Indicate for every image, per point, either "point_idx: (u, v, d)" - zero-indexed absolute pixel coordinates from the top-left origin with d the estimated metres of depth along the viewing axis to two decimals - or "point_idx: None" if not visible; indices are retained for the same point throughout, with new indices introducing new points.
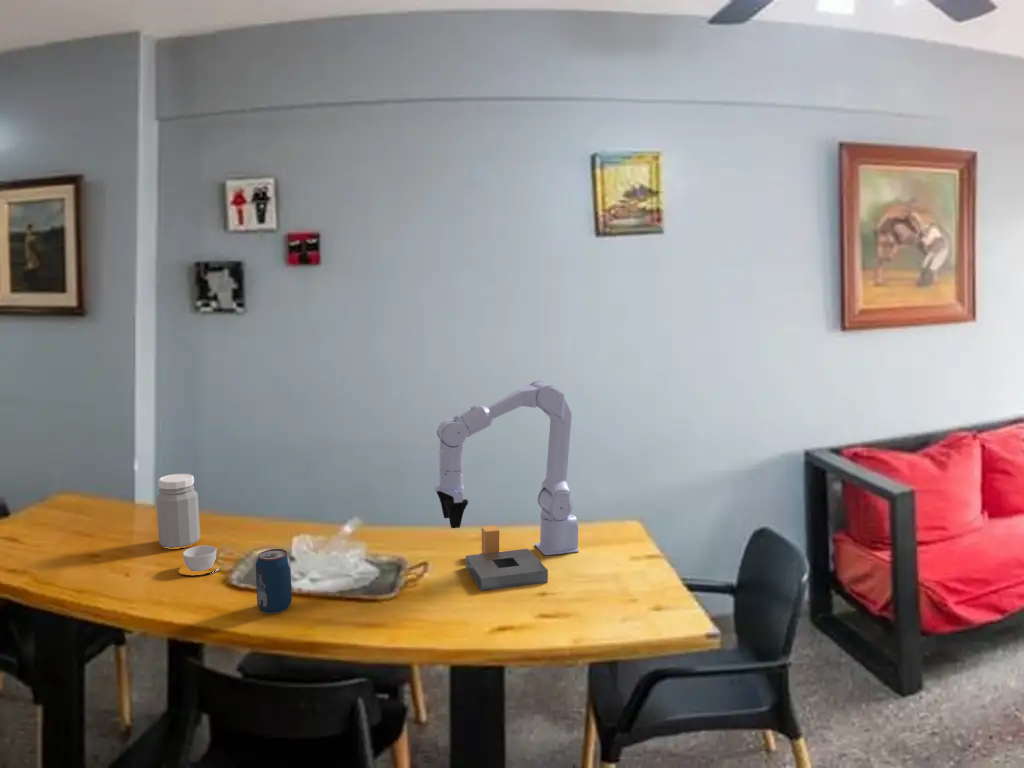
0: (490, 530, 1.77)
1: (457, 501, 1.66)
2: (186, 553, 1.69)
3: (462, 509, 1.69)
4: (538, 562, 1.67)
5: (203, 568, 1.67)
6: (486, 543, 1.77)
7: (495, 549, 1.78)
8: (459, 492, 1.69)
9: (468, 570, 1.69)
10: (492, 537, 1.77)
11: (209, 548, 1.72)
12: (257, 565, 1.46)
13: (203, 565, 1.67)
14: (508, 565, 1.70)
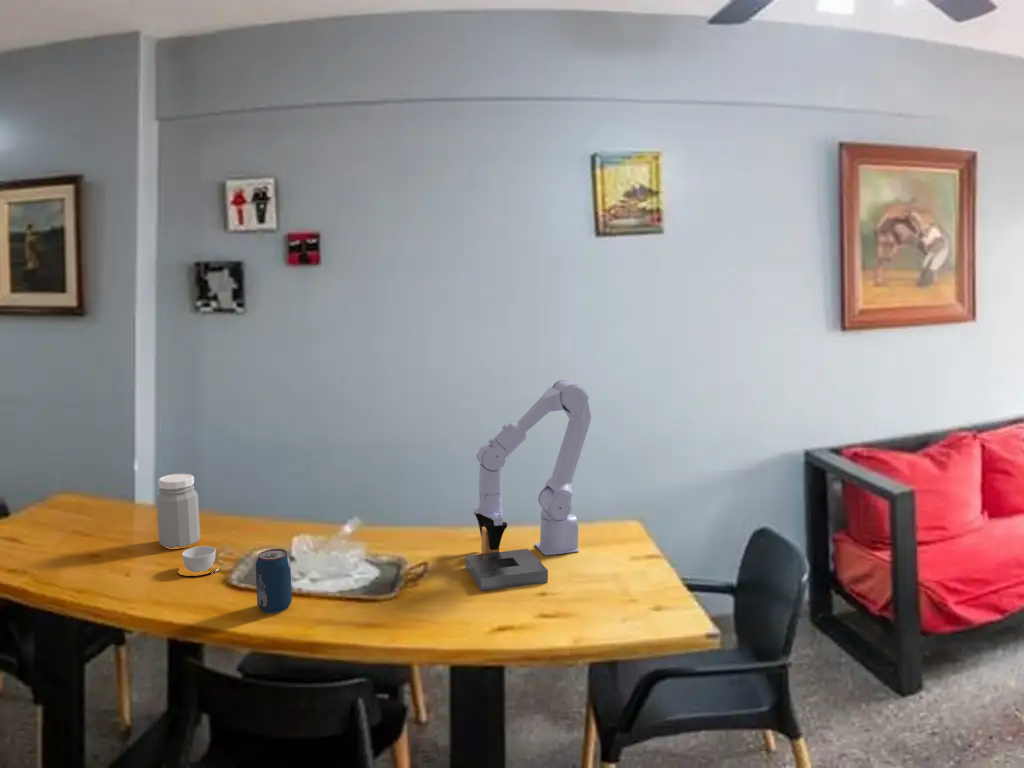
0: None
1: (497, 524, 1.71)
2: (185, 553, 1.69)
3: (501, 531, 1.74)
4: (538, 562, 1.67)
5: (202, 569, 1.67)
6: (486, 543, 1.77)
7: None
8: (499, 515, 1.74)
9: (468, 570, 1.69)
10: None
11: (208, 548, 1.72)
12: (257, 565, 1.46)
13: (202, 566, 1.66)
14: (508, 565, 1.70)
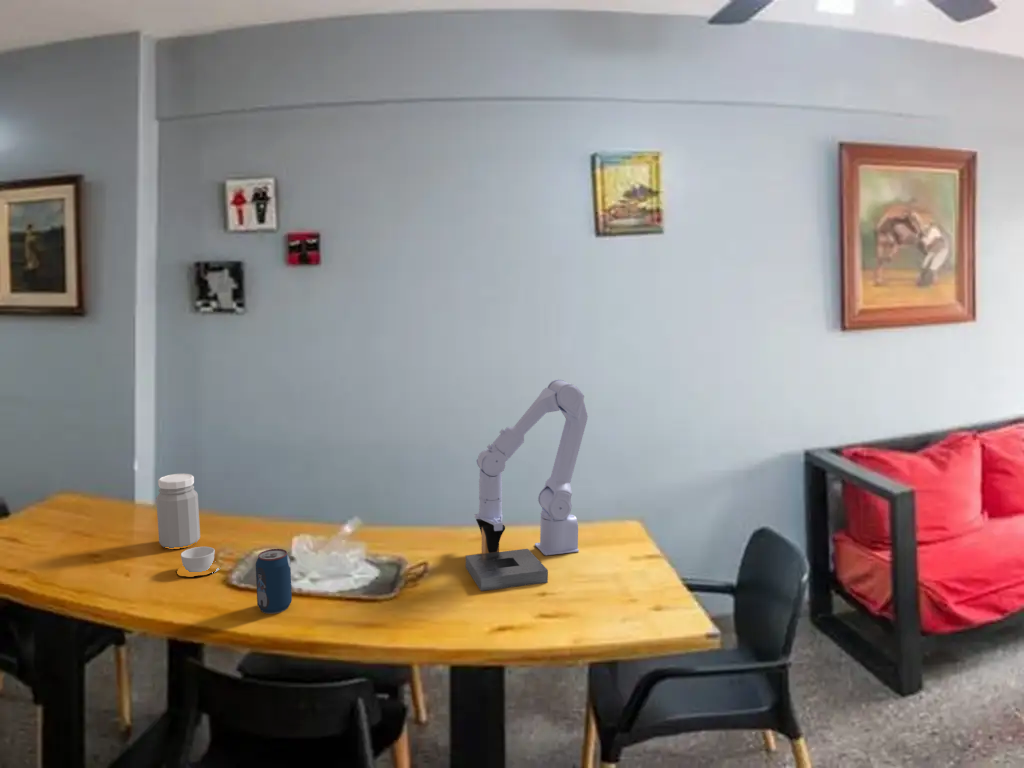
0: None
1: (497, 529, 1.71)
2: (184, 554, 1.68)
3: (499, 534, 1.76)
4: (538, 562, 1.67)
5: (201, 569, 1.66)
6: (486, 543, 1.77)
7: None
8: (499, 520, 1.74)
9: (468, 570, 1.69)
10: None
11: (207, 549, 1.71)
12: (257, 565, 1.46)
13: (201, 566, 1.66)
14: (508, 565, 1.70)
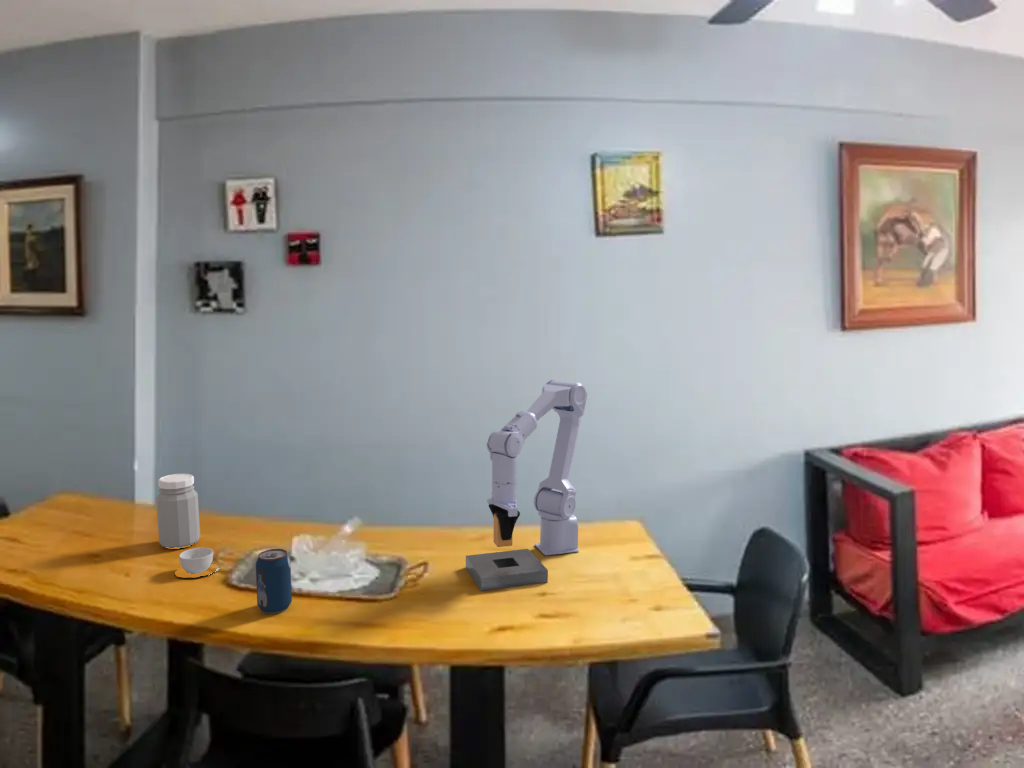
0: None
1: (512, 515, 1.60)
2: (182, 555, 1.68)
3: (514, 521, 1.64)
4: (538, 562, 1.67)
5: (199, 570, 1.66)
6: (499, 531, 1.65)
7: None
8: (513, 505, 1.62)
9: (468, 570, 1.69)
10: None
11: (206, 550, 1.71)
12: (257, 565, 1.46)
13: (199, 567, 1.65)
14: (508, 565, 1.70)
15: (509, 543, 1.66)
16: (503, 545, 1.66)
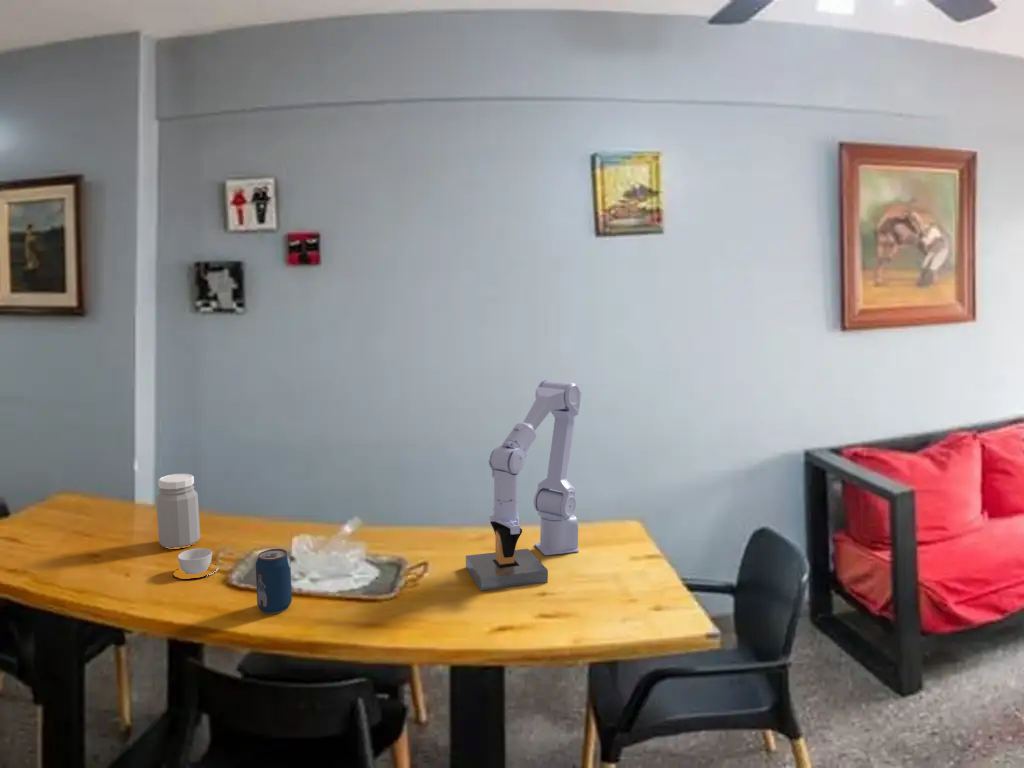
0: None
1: (514, 533, 1.59)
2: (181, 556, 1.67)
3: (516, 538, 1.63)
4: (538, 562, 1.67)
5: (198, 571, 1.65)
6: (501, 548, 1.64)
7: None
8: (515, 523, 1.61)
9: (468, 570, 1.69)
10: None
11: (204, 551, 1.70)
12: (257, 565, 1.46)
13: (198, 568, 1.65)
14: (508, 565, 1.70)
15: (511, 560, 1.65)
16: (505, 562, 1.65)
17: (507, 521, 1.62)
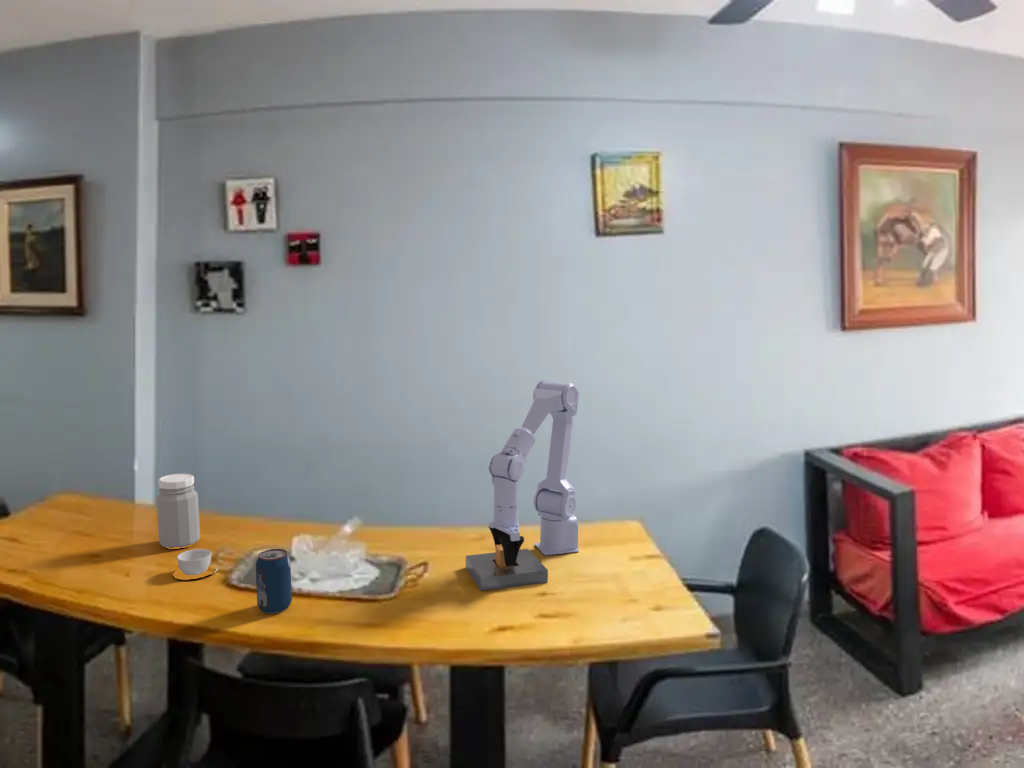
0: None
1: (514, 539, 1.59)
2: (180, 557, 1.67)
3: (518, 547, 1.62)
4: (538, 562, 1.67)
5: (197, 572, 1.65)
6: (501, 563, 1.65)
7: None
8: (515, 529, 1.61)
9: (468, 570, 1.69)
10: None
11: (204, 552, 1.70)
12: (257, 565, 1.46)
13: (197, 569, 1.64)
14: None
15: None
16: None
17: (507, 528, 1.63)
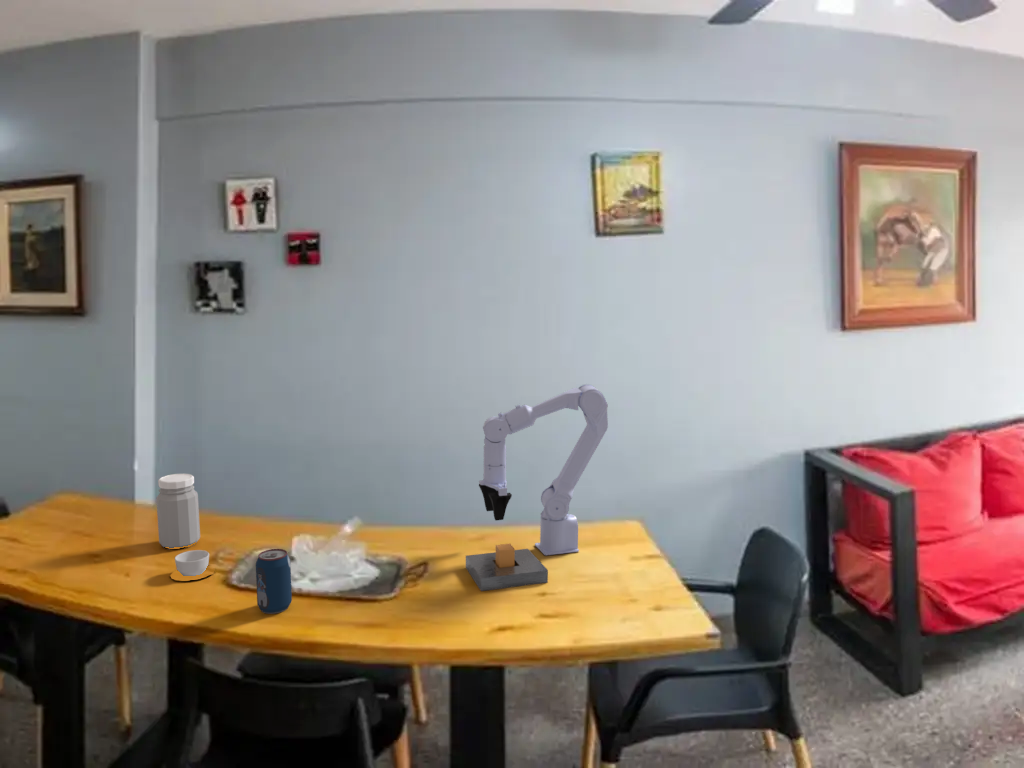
0: (505, 549, 1.65)
1: (502, 494, 1.74)
2: (178, 558, 1.66)
3: (506, 502, 1.76)
4: (538, 562, 1.67)
5: (195, 573, 1.64)
6: (501, 563, 1.65)
7: None
8: (503, 486, 1.76)
9: (468, 570, 1.69)
10: (507, 556, 1.65)
11: (202, 553, 1.69)
12: (257, 565, 1.46)
13: (195, 570, 1.64)
14: None
15: None
16: None
17: (496, 484, 1.77)
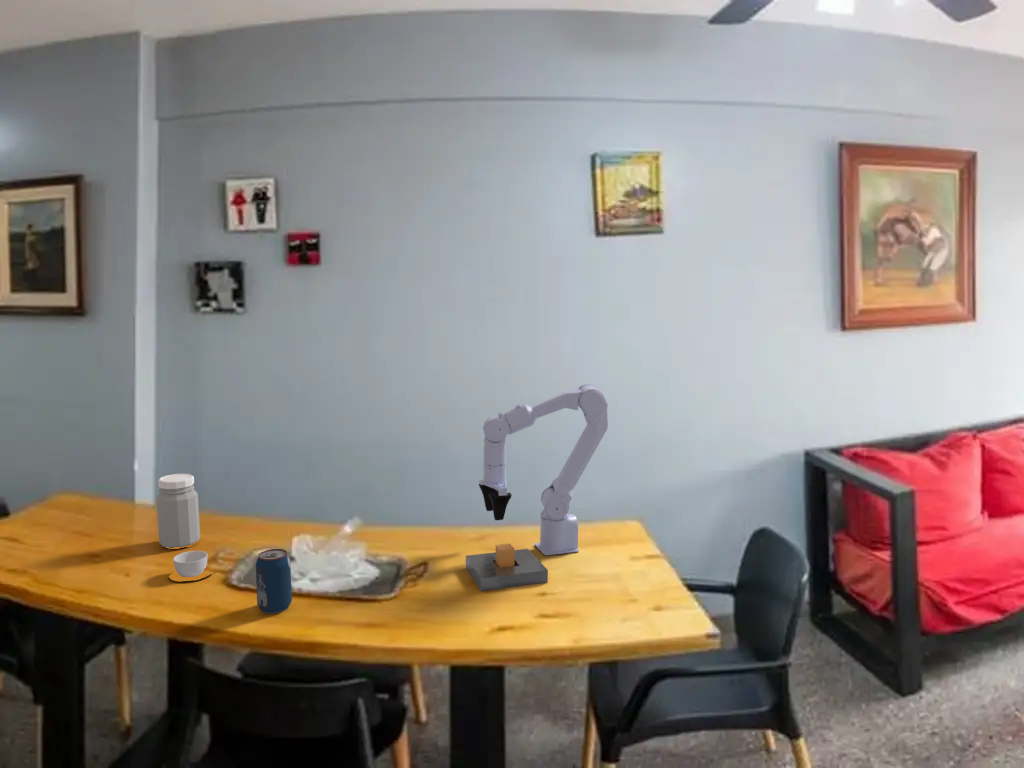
0: (505, 549, 1.65)
1: (502, 494, 1.74)
2: (176, 559, 1.66)
3: (506, 502, 1.77)
4: (538, 562, 1.67)
5: (194, 574, 1.64)
6: (501, 563, 1.65)
7: None
8: (503, 486, 1.76)
9: (468, 570, 1.69)
10: (507, 556, 1.65)
11: (200, 553, 1.69)
12: (257, 565, 1.46)
13: (194, 571, 1.63)
14: None
15: None
16: None
17: (495, 484, 1.77)
